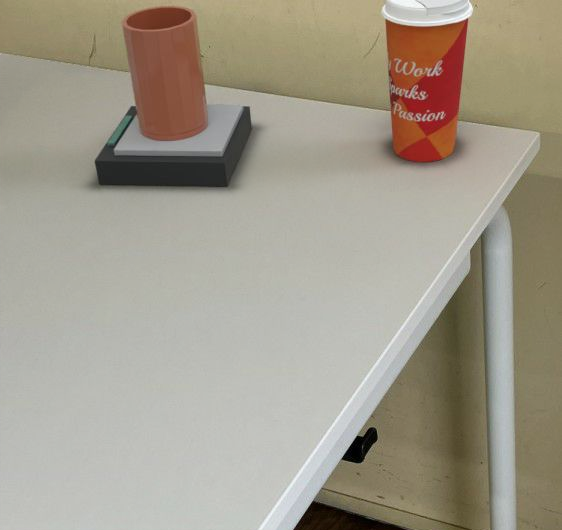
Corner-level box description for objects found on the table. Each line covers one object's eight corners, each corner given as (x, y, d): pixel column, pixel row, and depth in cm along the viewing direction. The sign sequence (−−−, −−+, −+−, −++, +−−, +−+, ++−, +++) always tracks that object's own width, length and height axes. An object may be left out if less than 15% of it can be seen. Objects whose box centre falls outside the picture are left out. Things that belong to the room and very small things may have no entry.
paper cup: (364, 150, 94) (362, -3, 85) (420, 123, 97) (423, -26, 89) (428, 176, 89) (432, 16, 80) (484, 146, 93) (494, -9, 84)
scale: (98, 184, 92) (92, 154, 90) (134, 128, 101) (130, 99, 99) (227, 186, 90) (223, 155, 88) (252, 129, 99) (249, 99, 97)
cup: (131, 140, 92) (112, 31, 85) (150, 111, 97) (133, 6, 90) (199, 141, 91) (185, 30, 84) (214, 112, 95) (202, 5, 89)
